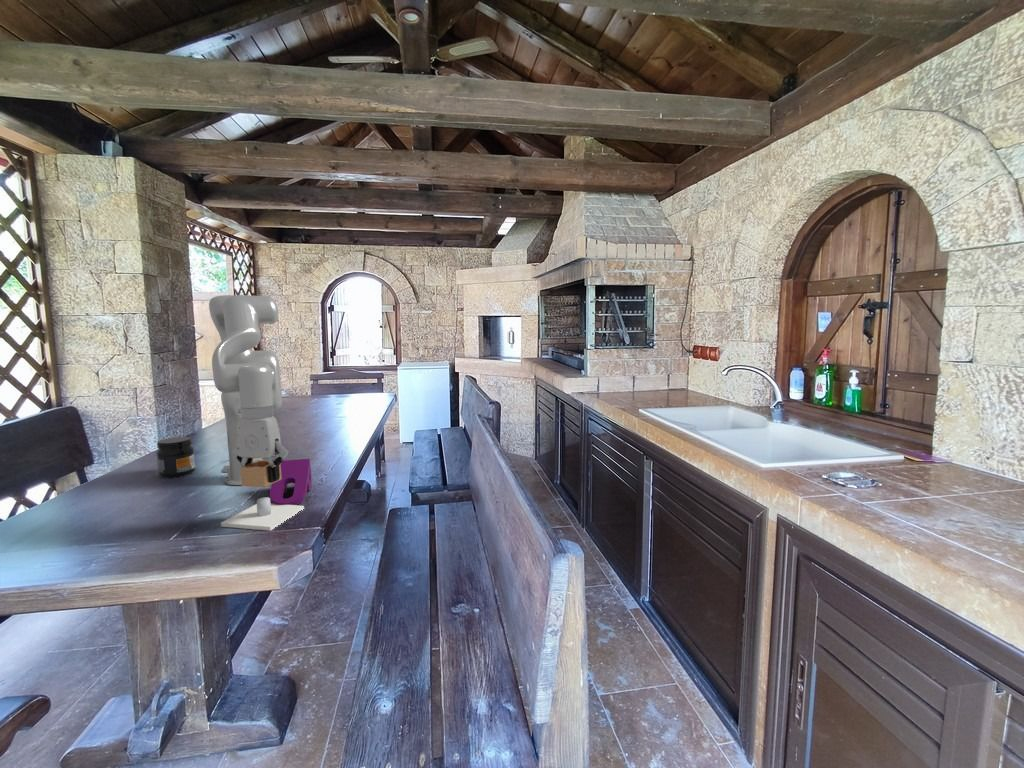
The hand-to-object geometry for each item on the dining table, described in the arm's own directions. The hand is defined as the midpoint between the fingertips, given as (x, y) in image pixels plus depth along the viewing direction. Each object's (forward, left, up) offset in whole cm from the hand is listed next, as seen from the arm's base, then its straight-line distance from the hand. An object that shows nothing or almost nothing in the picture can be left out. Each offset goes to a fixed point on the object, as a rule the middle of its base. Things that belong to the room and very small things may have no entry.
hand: (262, 479), depth 125 cm
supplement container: (-55, +28, -11) cm, 63 cm away
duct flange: (0, 0, -11) cm, 11 cm away
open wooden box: (0, 0, -1) cm, 1 cm away
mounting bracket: (-3, +15, -11) cm, 19 cm away
